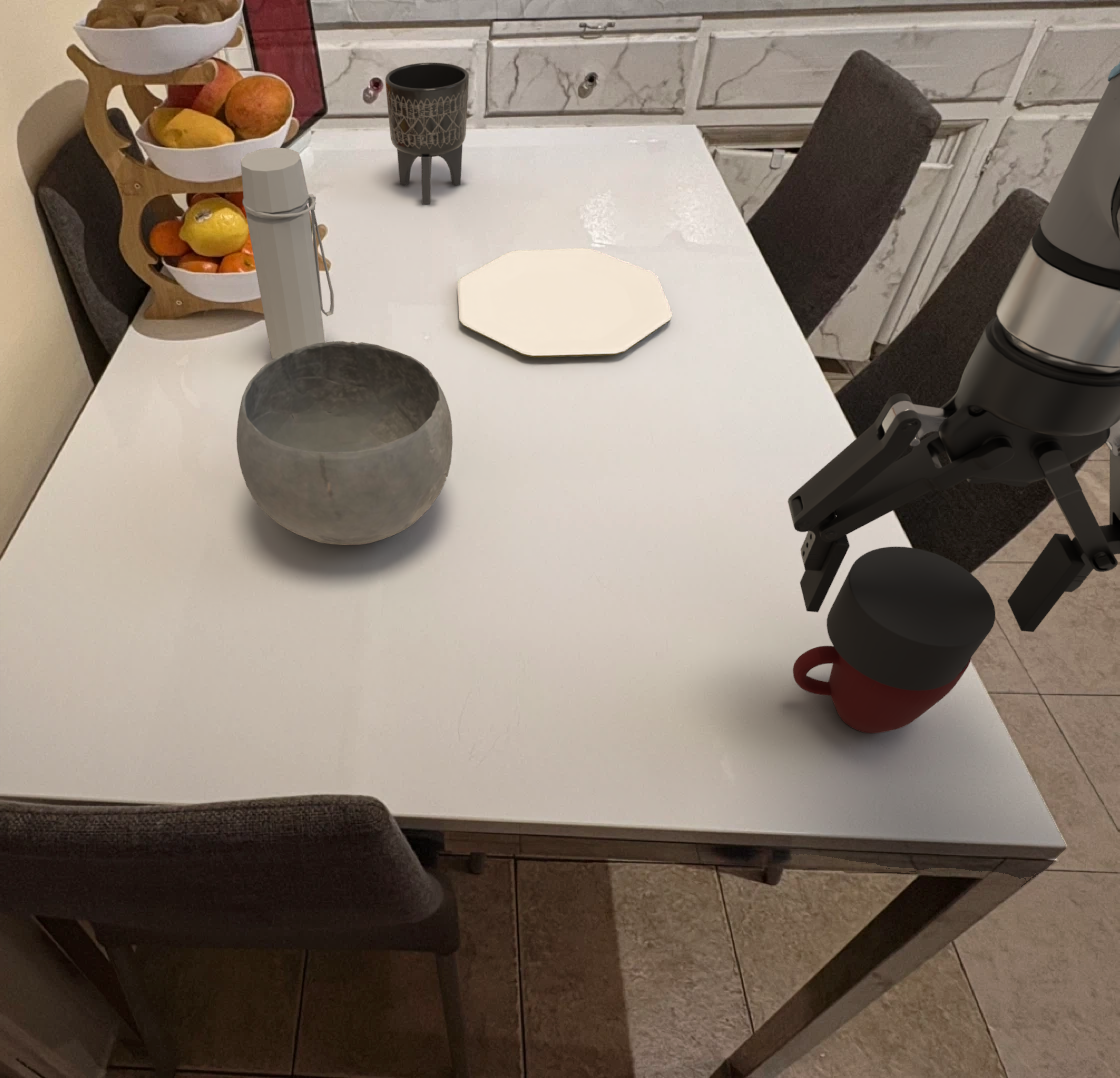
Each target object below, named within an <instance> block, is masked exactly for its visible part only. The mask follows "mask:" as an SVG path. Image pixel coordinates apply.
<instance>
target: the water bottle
mask: <svg viewBox="0 0 1120 1078" xmlns="http://www.w3.org/2000/svg"><path fill="white" fill-rule="evenodd" d="M240 171H241V182H242V193H243V198H242V206H243V208H244V211H245V216H246V221H247V228H248V232H249V238H250V243H251V250H252V255H253V261H254V266H255V267H254V268H255V272H256V279H257V284H258V289H259V294H260V300H261V306H262V307H261V308H262V312H263V317H264V322H265V328H266V334H267V340H268V346H269V351H270V356H271V361H272V360H273V359H275V358H276V357H278V356H280V355H283V354H285V353H287V352H290V351H293V350H295V349H298V348H301V347H305V346H308V345H312V344H316V343H323V342H326V337H325V330H324V321H323V315H325V316H326V317H329V316H333V314H334V311H335V294H334V290H333V285H332V281H331V276H330V272H329V268H328V264H327V260H326V255H325V251H324V246H323V242H322V238H321V233H320V230H319V229H320V228H319V225H318V221H317V217H316V213H315V210H316V204H317V202H316V200H317V197H316V196H315V195H314V194H313V193H309V190H308V185H307V180H306V176H305V172H304V167H303V162H302V158H301V155H300V153H299V152H298V151H297V150H294V149H291V148H287V147H269V148H267V147H266V148H260V149H256V150H254V151H251V152H248V153H247V154H245V155H244V156H243V157H242V158H241V159H240ZM317 241H318V242H317ZM317 244H318V245H317ZM318 246H319V249H320V253H321V258H322V262H323V267H324V272H325V276H326V281H327V284H328V290H329V296H330V297H329V298H330V300H329V301H330V305H329V306H330V307H329V310H328V311H327V312H326V311H325V310H324V306H323V295H322V287H321V286H322V285H321V283H322V282H321V275H320V266H319V265H320V264H319V256H318V255H319V253H318Z"/></svg>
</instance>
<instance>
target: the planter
mask: <svg viewBox="0 0 1120 1078" xmlns="http://www.w3.org/2000/svg"><path fill="white" fill-rule="evenodd" d="M469 74H470V73H469V72H468V70H466V69H465V68H464V67H461V66H459V65H455V64H452V63H445V62H418V63H412V64H406V65H402V66H399V67H396V68H394V69H392V70H391V71H389V72H388V73H387V74H386V75H385V79H384V80H385V81H384V82H385V91H386V93H385V94H386V103H387V114H388V124H389V136H390V141H391V144H392V145H393V147H394V148H395V149H396V152H397V165H398V178H399V185H400V186H404V187H405V186H407V185H409V184H410V179H411V170H412V168H413V167H412V166H413V164H414V162H415V161H416V159H417V158H420V168H421V169H420V170H421V171H420V172H421V197H422V198H421V203H422V205H431V204H432V203H431V202H432V193H431V192H432V161H433V158H435V157H439V158H441V159H443V160H444V161H445V163H446V164H447V168H448V170H449V175H450V182H451V183H450V184H452V185H453V186H454V187H455V186H460V185H461V182H462V163H463V144H464V143H465V139H466V137H467V136H466V135H467V119H468V103H469V102H468V101H469V84H470V83H469V81H470V75H469Z"/></svg>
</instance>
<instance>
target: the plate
mask: <svg viewBox="0 0 1120 1078" xmlns="http://www.w3.org/2000/svg"><path fill="white" fill-rule="evenodd" d="M456 284H457V296H458V297H457V300H458V317H459V319H458V320H459V323H460V324H461V325H462V326H463V327H464V328H466V329H467V330H470V331H472V332H474V333H476V334H478V335H480V336H481V337H485V338H486V339H489V340H491V341H492V342H495V343H497V344H499V345H500V346H503V347H505V348H507V349H509V350H511V351H513V352H514V353H515V352H516V353H517V354H519V355H521V356H525V357H529V358H561V357H562V358H564V357H565V358H566V357H567V358H568V357H598V356H599V357H600V356H605V357H606V356H616V355H620V354H623V353H626V352H627V351H628V350H629V349H631V348H633V347H634V346H636V345H637V344H639V343H640V342H642V341H643V340H645V339H646V338H647V337H649V336H650V335H652V334H653V333H655V332H656V331H657V330H659V329H660V328H662V327H663V326H665V325H666V324H668V323H669V322H670V321H671V320H672V318H673V311H672V308H671V306H670V304H669V301H668V299H667V296H666V294H665V291H664V289H663V286H662V284H661V281H660V278H659V276H658V275H657V274H656V273H654V272H653V271H652V270H648V269H647V268H644V267H641V266H639V265H637V264H633V263H631V262H628V261H625V260H622V259H620V258H618V257H615V256H612V255H609V254H607V253H605V252H602V251H599V250H596V249H594V248H587V247H577V248H575V247H574V248H571V247H570V248H543V249H541V248H540V249H539V248H538V249H516V250H512V251H511V250H510V251H507V252H506V253H504V254H502V255H500V256H498V257H497V258H495V259H493V260H491V261H489V262H487V263H486V264H483V265H482V266H479V267H478V268H476V269H474V270H472V271H471V272H469V273H467V274H464V275H463V276H461V277H460V278H459V279H458V281H457V283H456Z"/></svg>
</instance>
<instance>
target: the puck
mask: <svg viewBox="0 0 1120 1078" xmlns="http://www.w3.org/2000/svg"><path fill="white" fill-rule="evenodd" d="M995 622H996V609H995V605H994V601H993V598H992V597H991V595H990V592H988V590H987V588H986V587H985V586H984V585H983V584H982V582H981V581H980V580H978V579H977V578H976V577H975V576H974V575H973V574H972V573H971V572H970V571H968V570H967V569H966V568H964V567H962V566H961V565H959V564H958V563H956V562H954V561H952V560H951V559H950V558H949V559H948V558H947V557H945V556H942V555H940V554H938V553H937V554H936V553H935V552H932V551H928V550H924V549H921V548H916V547H908V546H885V547H878V548H875V549H872V550H870V551H868V552H865V553H864V554H862V555H861V556H859V557H858V558H857V559H856V560H855V561H854V562H853V564H852V565H851V567H850V569H849V571H848V573H847V575H846V577H845V579H844V581H843V583H842V585H841V587H840V589H839V591H838V593H837V595H836V597H835V599H834V601H833V603H832V605H831V607H830V609H829V611H828V614H827V618H826V630H827V634H828V637H829V640H830V643H831V644H832V646H834V647H835V649H836V650H837V652H838V653H839V654H840V655H841V657H842V658H843V659H844V660H845V661H846V662H847V663H848V664H850V665H851V666H852V667H853V668H855V669H856V670H857V671H859V672H860V673H862V674H863V675H865V676H867V677H869V678H871V679H873V680H875V681H877V682H880V683H882V684H885V685H888V686H891V687H895V688H899V689H905V690H915V691H921V690H931V689H936V688H939V687H942V686H944V685H946V684H948V683H950V682H951V681H953V680H954V679H955V678H956V677H957V676H958V675H959V673H960V672H961V671H962V669H963V668H964V667H965V665H966V664H967V662H968V661H969V660H970V658H971V659H972V657H973V656H974V654H975V653H976V652H977V651H978V649H979V647H980V646H981V645H982V643H983V642H984V641H985V640H986V638H987V636H988V635H989V634H990V632H991V631H992V629H993V627H994V625H995Z"/></svg>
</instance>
